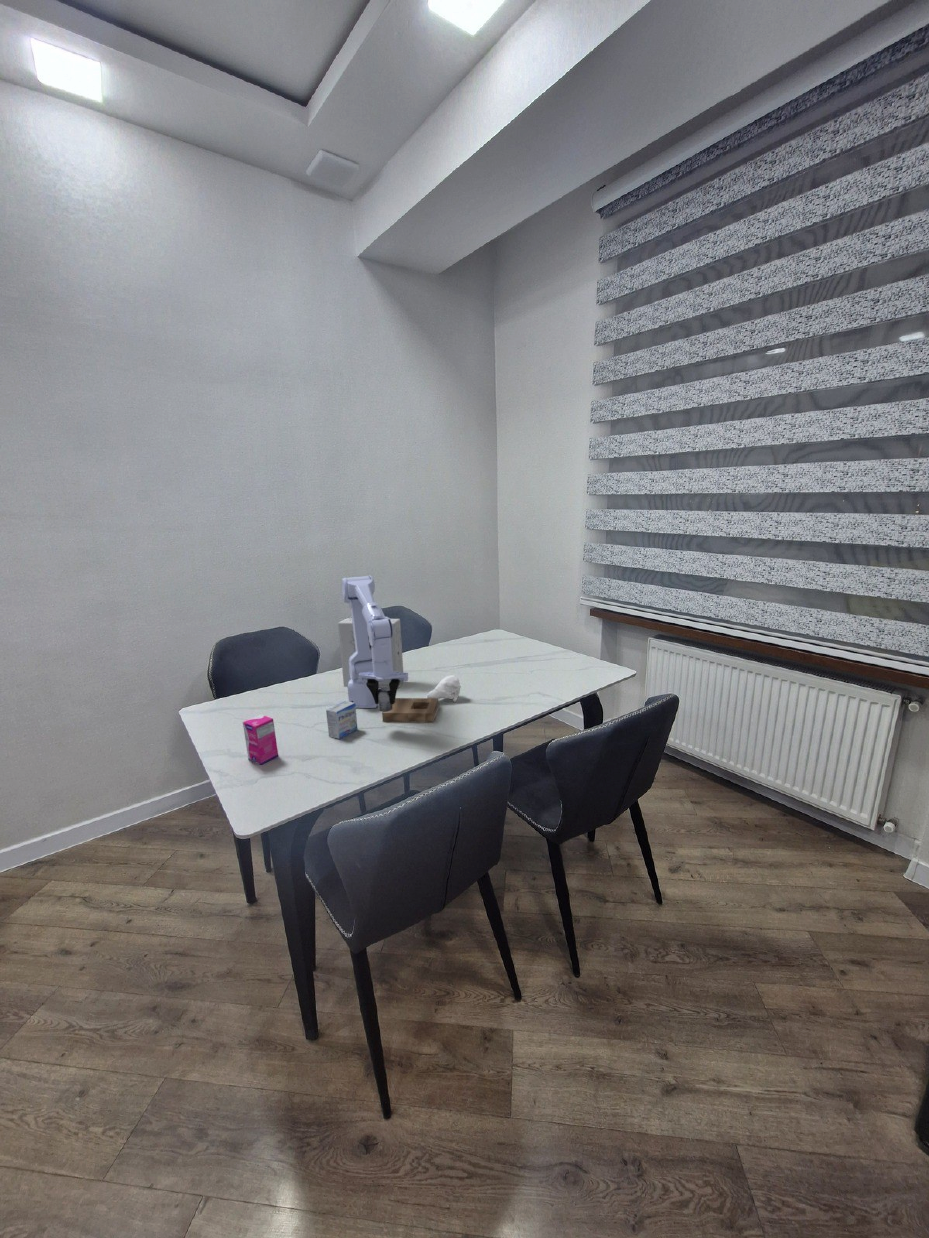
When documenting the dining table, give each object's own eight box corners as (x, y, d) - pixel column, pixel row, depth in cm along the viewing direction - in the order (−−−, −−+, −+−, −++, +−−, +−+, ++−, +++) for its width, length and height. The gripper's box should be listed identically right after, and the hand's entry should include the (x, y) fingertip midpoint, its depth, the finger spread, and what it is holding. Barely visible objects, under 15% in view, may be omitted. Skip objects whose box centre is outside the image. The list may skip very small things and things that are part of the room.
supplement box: (247, 760, 134) (241, 721, 131) (266, 751, 139) (261, 713, 136) (260, 765, 131) (254, 726, 128) (279, 756, 135) (274, 717, 133)
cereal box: (404, 681, 190) (400, 618, 184) (398, 688, 183) (394, 623, 177) (351, 679, 194) (345, 617, 188) (343, 686, 187) (337, 622, 181)
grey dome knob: (376, 711, 145) (375, 692, 144) (380, 705, 150) (379, 687, 148) (390, 711, 145) (389, 692, 144) (394, 706, 149) (392, 687, 148)
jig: (382, 721, 155) (382, 712, 154) (391, 706, 167) (391, 698, 166) (432, 722, 153) (432, 713, 153) (438, 706, 165) (438, 698, 164)
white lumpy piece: (461, 676, 168) (429, 686, 162) (464, 699, 170) (433, 710, 165) (452, 671, 173) (421, 681, 168) (455, 693, 175) (425, 703, 170)
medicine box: (339, 739, 144) (336, 712, 142) (328, 736, 146) (325, 709, 144) (358, 729, 150) (355, 702, 148) (347, 726, 153) (345, 700, 151)
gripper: (353, 663, 141) (357, 708, 144) (403, 663, 139) (406, 708, 142) (361, 656, 148) (364, 698, 151) (408, 656, 146) (411, 699, 149)
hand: (385, 702), depth 147 cm, fingers closed on grey dome knob, 4 cm apart
